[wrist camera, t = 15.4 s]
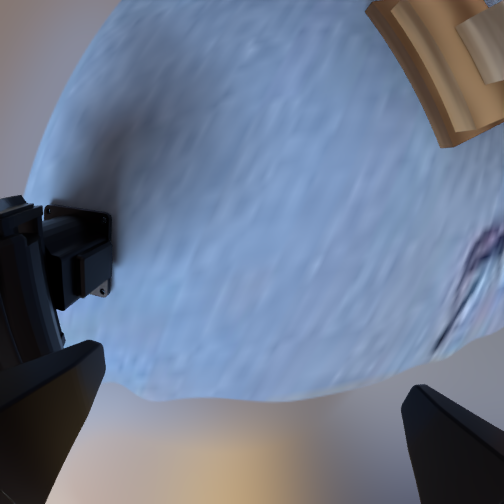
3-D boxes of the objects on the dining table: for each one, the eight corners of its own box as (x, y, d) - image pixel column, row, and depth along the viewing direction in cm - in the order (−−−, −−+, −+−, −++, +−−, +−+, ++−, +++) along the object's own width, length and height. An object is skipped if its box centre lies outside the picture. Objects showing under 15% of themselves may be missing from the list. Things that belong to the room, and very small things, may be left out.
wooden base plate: (435, 148, 18) (453, 147, 15) (361, 16, 15) (372, 1, 13) (508, 113, 16) (525, 111, 14) (451, 4, 14) (464, -5, 11)
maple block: (455, 132, 15) (476, 129, 13) (390, 11, 13) (404, -4, 10) (517, 106, 14) (535, 104, 11) (467, 7, 12) (481, -3, 9)
